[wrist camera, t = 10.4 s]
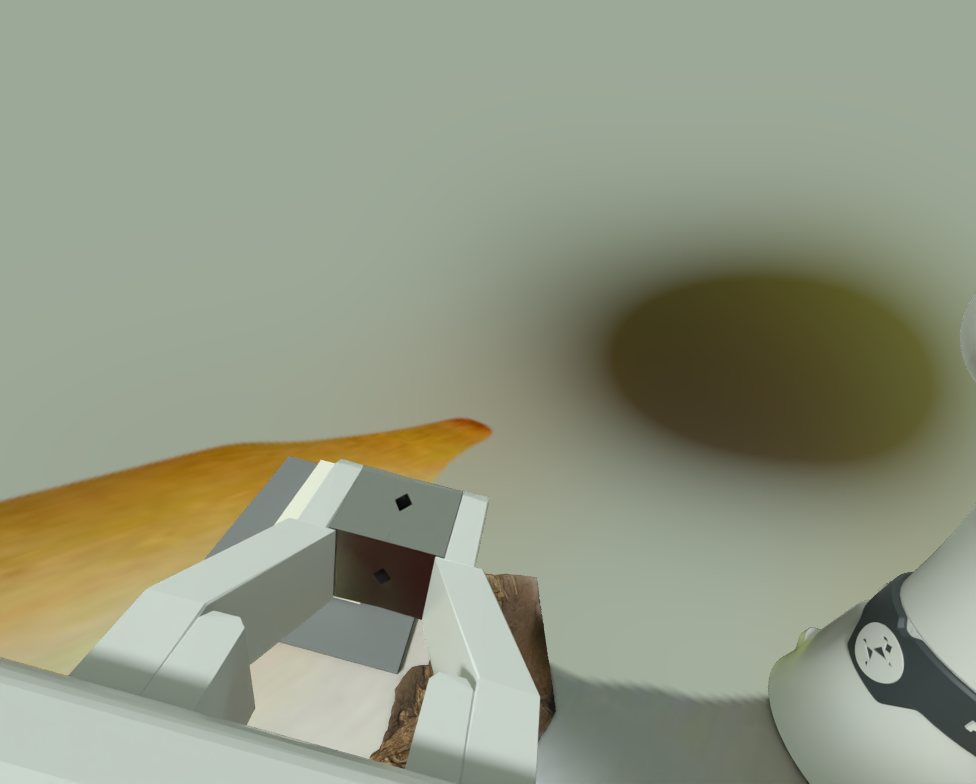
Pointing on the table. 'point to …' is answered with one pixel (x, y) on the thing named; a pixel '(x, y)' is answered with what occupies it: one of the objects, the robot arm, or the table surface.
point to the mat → (339, 622)
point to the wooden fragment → (528, 631)
